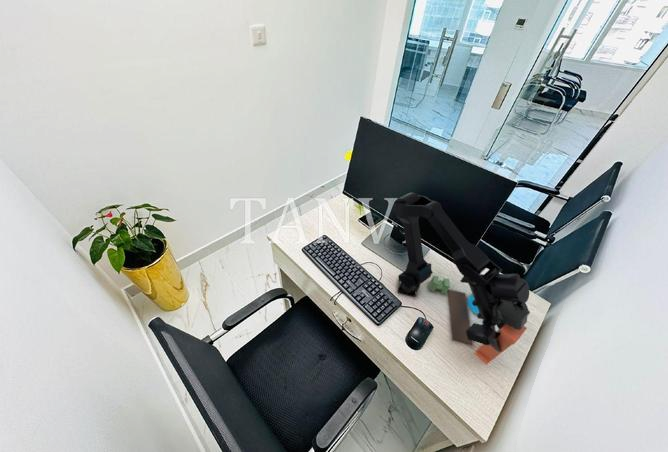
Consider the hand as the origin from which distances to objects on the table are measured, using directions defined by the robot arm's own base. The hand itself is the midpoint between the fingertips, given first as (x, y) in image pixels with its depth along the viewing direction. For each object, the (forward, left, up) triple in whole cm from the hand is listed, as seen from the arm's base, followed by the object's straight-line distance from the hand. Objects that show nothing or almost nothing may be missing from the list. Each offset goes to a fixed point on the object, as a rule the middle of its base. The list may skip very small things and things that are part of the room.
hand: (503, 345), depth 71 cm
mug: (+3, +20, -11) cm, 23 cm away
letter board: (-7, +14, -11) cm, 19 cm away
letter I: (-1, +1, -8) cm, 8 cm away
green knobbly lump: (-14, +23, -11) cm, 29 cm away
